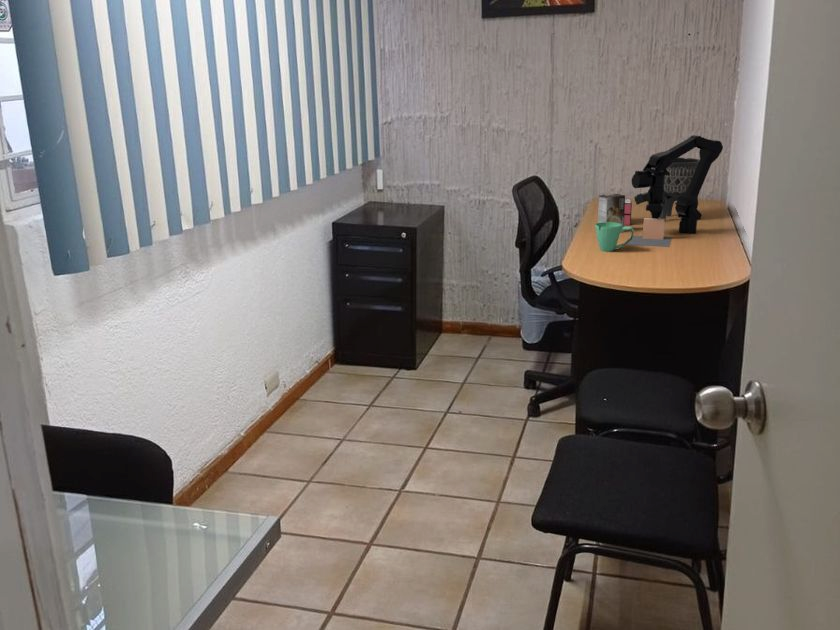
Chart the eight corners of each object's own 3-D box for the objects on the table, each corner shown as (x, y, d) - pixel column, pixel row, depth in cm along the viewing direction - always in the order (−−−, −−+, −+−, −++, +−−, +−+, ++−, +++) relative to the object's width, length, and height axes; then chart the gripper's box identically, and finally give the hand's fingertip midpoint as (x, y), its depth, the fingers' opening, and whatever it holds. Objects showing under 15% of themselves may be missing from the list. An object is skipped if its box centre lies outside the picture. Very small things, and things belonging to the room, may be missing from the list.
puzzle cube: (630, 225, 357) (631, 203, 354) (607, 225, 359) (608, 202, 356) (629, 221, 366) (631, 199, 363) (607, 221, 368) (608, 199, 365)
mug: (592, 252, 311) (593, 226, 308) (596, 246, 319) (597, 221, 316) (632, 254, 306) (633, 228, 303) (634, 248, 315) (635, 223, 312)
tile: (663, 238, 328) (664, 218, 325) (663, 239, 326) (664, 219, 323) (643, 237, 330) (644, 218, 328) (642, 238, 328) (643, 219, 326)
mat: (671, 238, 329) (671, 237, 329) (669, 248, 313) (669, 246, 313) (631, 236, 335) (631, 235, 334) (626, 246, 318) (626, 244, 318)
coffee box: (615, 230, 347) (616, 193, 343) (624, 233, 342) (626, 195, 337) (596, 232, 344) (598, 195, 339) (605, 235, 338) (607, 197, 334)
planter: (700, 216, 371) (705, 158, 363) (692, 224, 355) (697, 163, 347) (656, 214, 380) (660, 156, 372) (647, 221, 364) (650, 162, 356)
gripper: (638, 182, 338) (636, 219, 343) (634, 189, 321) (631, 228, 326) (666, 183, 334) (664, 220, 339) (663, 190, 318) (660, 229, 322)
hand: (654, 224), depth 332 cm, fingers closed
